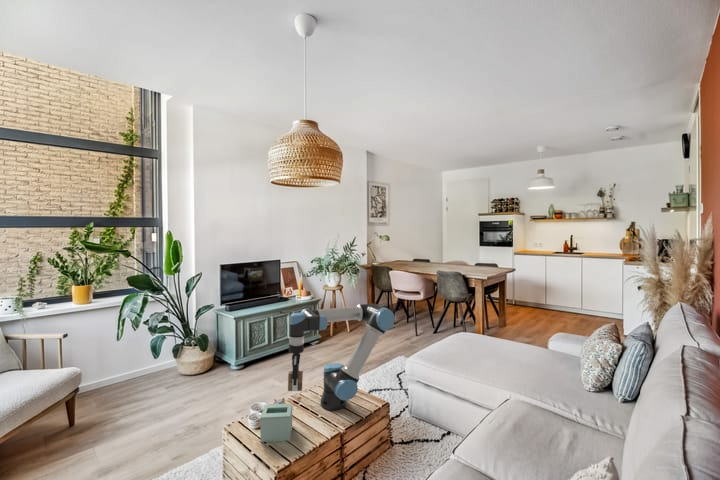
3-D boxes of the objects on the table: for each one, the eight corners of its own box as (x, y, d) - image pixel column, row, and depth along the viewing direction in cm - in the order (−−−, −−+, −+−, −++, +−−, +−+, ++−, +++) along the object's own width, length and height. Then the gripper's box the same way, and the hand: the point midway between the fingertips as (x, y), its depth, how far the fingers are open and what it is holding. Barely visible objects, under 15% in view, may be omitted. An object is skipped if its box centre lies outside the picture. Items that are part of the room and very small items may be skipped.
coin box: (292, 425, 180) (292, 403, 179) (290, 440, 168) (290, 416, 168) (264, 427, 178) (264, 404, 178) (260, 441, 167) (260, 417, 166)
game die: (281, 421, 190) (282, 413, 184) (267, 414, 192) (268, 406, 186) (289, 407, 197) (291, 398, 191) (276, 400, 199) (277, 391, 192)
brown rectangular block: (302, 388, 180) (302, 371, 180) (301, 390, 177) (302, 373, 177) (288, 388, 179) (289, 371, 179) (287, 391, 176) (288, 373, 176)
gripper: (290, 338, 185) (289, 382, 186) (287, 349, 169) (285, 396, 170) (304, 338, 186) (303, 382, 186) (303, 349, 170) (301, 396, 170)
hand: (295, 388), depth 178 cm, fingers closed on brown rectangular block, 3 cm apart
